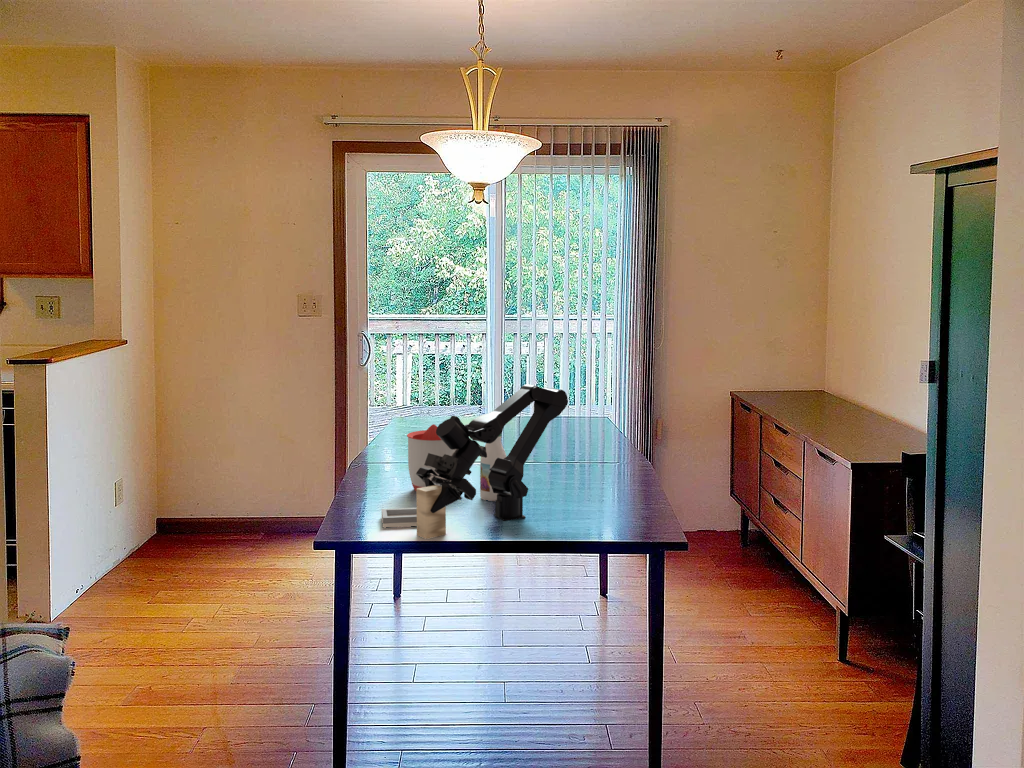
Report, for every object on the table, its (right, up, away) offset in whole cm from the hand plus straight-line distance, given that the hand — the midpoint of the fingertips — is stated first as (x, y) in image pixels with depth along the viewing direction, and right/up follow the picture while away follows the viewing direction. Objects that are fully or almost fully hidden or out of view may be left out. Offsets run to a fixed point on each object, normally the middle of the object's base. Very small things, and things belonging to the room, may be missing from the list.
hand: (426, 510), depth 235 cm
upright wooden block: (+1, -6, +2) cm, 7 cm away
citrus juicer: (-1, -1, +47) cm, 48 cm away
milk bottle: (+16, -2, +38) cm, 42 cm away
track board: (-5, -5, +14) cm, 15 cm away
